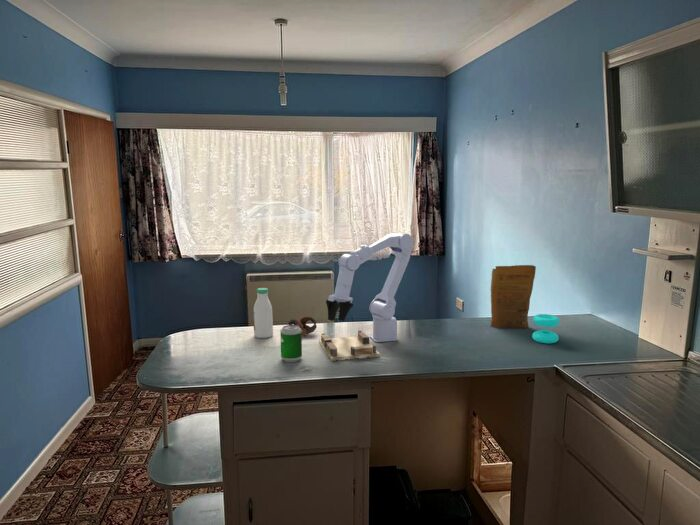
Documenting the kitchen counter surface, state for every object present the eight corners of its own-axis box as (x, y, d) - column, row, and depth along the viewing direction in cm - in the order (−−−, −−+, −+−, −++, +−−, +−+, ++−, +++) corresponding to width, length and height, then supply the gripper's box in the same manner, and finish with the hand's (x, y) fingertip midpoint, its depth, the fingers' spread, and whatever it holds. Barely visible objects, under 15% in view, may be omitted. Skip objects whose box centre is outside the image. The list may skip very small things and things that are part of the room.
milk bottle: (276, 334, 207) (275, 288, 204) (264, 339, 200) (262, 291, 197) (263, 332, 211) (261, 286, 208) (250, 336, 204) (248, 289, 201)
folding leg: (320, 341, 194) (320, 334, 194) (327, 340, 195) (327, 334, 195) (325, 347, 187) (324, 340, 187) (331, 346, 188) (331, 339, 187)
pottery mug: (315, 330, 215) (319, 316, 210) (312, 345, 207) (316, 332, 203) (288, 323, 214) (291, 310, 209) (284, 339, 206) (287, 325, 202)
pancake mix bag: (534, 330, 214) (538, 266, 209) (489, 329, 215) (492, 265, 211) (530, 325, 220) (533, 263, 216) (486, 324, 222) (489, 263, 217)
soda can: (305, 357, 180) (304, 325, 178) (296, 364, 173) (296, 331, 171) (286, 354, 183) (286, 323, 181) (277, 361, 176) (276, 329, 174)
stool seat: (362, 338, 202) (362, 329, 201) (379, 356, 181) (379, 346, 180) (319, 342, 197) (318, 333, 196) (331, 361, 176) (331, 350, 176)
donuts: (554, 321, 191) (529, 316, 197) (553, 346, 193) (527, 340, 199) (563, 316, 198) (538, 312, 205) (562, 340, 200) (537, 335, 206)
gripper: (344, 284, 196) (337, 317, 196) (324, 281, 183) (316, 317, 183) (359, 288, 192) (352, 322, 192) (340, 285, 180) (332, 322, 180)
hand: (336, 320), depth 188 cm, fingers open, 7 cm apart
